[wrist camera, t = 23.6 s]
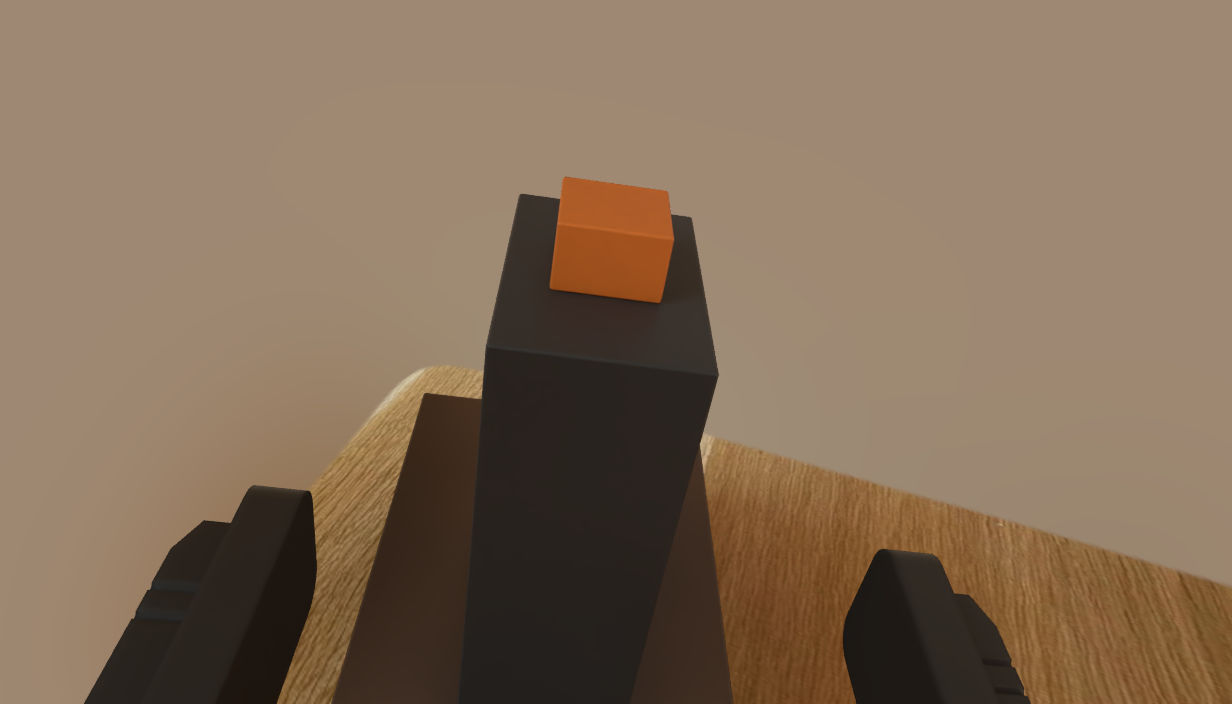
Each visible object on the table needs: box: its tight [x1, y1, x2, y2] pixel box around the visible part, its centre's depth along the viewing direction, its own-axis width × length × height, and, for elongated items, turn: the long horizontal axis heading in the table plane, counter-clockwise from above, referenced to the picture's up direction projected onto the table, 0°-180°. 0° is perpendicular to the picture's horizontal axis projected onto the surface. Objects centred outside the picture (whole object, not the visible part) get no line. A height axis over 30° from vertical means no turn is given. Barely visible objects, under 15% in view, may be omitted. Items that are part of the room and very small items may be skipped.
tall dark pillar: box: [457, 177, 719, 704], centre depth 22 cm, size 4×7×14 cm, turn 0°
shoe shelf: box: [331, 393, 733, 704], centre depth 28 cm, size 11×20×6 cm, turn 0°
